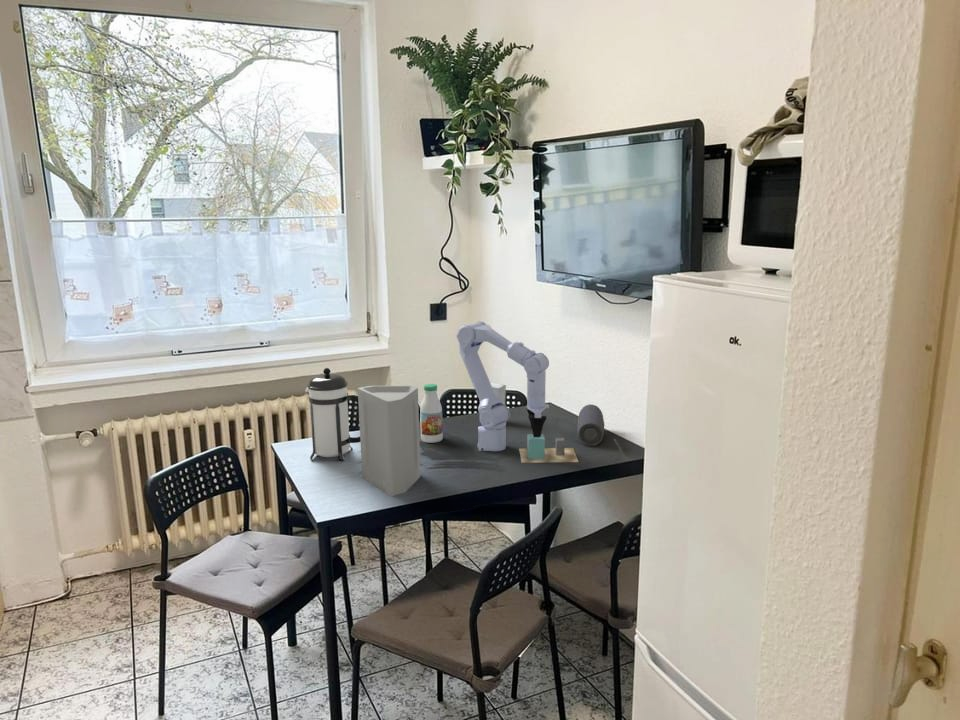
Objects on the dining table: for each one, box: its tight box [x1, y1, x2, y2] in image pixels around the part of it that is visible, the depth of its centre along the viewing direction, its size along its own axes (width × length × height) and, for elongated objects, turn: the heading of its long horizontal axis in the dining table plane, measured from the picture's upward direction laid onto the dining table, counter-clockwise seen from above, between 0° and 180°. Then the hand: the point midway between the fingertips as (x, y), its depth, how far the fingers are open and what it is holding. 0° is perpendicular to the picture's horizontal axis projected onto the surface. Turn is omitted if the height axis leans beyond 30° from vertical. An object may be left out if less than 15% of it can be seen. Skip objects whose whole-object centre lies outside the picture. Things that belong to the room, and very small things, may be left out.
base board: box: [518, 447, 579, 464], centre depth 228 cm, size 18×13×2 cm
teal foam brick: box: [526, 433, 546, 459], centre depth 226 cm, size 5×5×7 cm
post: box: [555, 437, 566, 455], centre depth 228 cm, size 3×3×5 cm
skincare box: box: [490, 382, 507, 405], centre depth 267 cm, size 8×6×15 cm
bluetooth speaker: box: [576, 404, 605, 447], centre depth 247 cm, size 23×9×10 cm, turn 171°
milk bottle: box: [419, 383, 444, 444], centre depth 246 cm, size 8×8×20 cm
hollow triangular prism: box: [357, 385, 422, 497], centre depth 209 cm, size 19×15×28 cm
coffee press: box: [304, 367, 360, 463], centre depth 231 cm, size 17×16×30 cm
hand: (536, 433), depth 225 cm, fingers open, 7 cm apart
